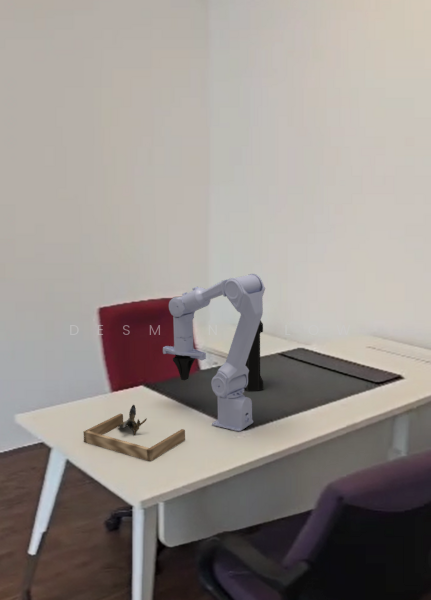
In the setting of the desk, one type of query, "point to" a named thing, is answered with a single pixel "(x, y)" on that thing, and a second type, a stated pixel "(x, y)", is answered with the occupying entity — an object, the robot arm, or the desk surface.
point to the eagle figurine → (132, 421)
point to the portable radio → (255, 363)
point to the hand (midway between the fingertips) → (184, 379)
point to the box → (149, 454)
